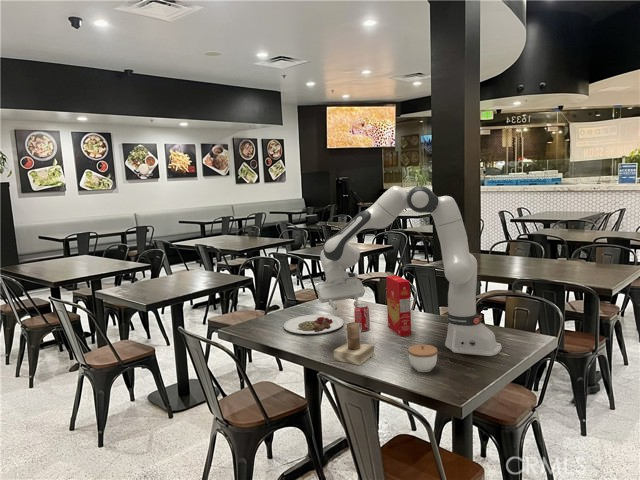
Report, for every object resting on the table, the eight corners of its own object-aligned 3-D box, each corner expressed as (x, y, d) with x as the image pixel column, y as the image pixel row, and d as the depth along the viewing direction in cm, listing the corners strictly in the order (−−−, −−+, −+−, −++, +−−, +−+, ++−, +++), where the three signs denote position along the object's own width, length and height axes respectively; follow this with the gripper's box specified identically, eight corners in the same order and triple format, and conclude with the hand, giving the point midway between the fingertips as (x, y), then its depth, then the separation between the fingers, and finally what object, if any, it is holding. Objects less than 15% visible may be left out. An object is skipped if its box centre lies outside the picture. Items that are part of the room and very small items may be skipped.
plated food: (273, 334, 229) (273, 327, 229) (298, 316, 257) (298, 310, 257) (332, 339, 218) (331, 332, 218) (351, 319, 246) (351, 313, 246)
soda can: (369, 327, 232) (368, 303, 230) (369, 331, 225) (368, 307, 223) (355, 327, 232) (354, 303, 231) (354, 332, 225) (353, 307, 224)
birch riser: (374, 354, 196) (374, 345, 195) (359, 365, 186) (359, 355, 185) (349, 350, 203) (349, 341, 202) (334, 359, 193) (333, 350, 192)
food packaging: (388, 326, 230) (386, 276, 227) (398, 325, 232) (396, 275, 228) (400, 336, 216) (398, 282, 213) (411, 334, 217) (409, 281, 214)
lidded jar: (412, 375, 174) (411, 351, 173) (405, 364, 184) (405, 341, 183) (441, 373, 174) (441, 349, 173) (433, 362, 185) (432, 339, 184)
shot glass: (353, 340, 214) (352, 325, 213) (364, 343, 209) (364, 328, 208) (342, 344, 209) (342, 329, 209) (354, 348, 205) (353, 332, 204)
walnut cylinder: (362, 346, 194) (361, 323, 193) (356, 351, 190) (355, 326, 189) (351, 345, 197) (350, 321, 196) (345, 349, 193) (344, 325, 192)
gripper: (315, 279, 201) (323, 307, 193) (360, 273, 207) (370, 300, 199) (313, 287, 206) (321, 315, 198) (357, 280, 212) (366, 307, 204)
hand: (346, 307), depth 199 cm, fingers open, 8 cm apart
